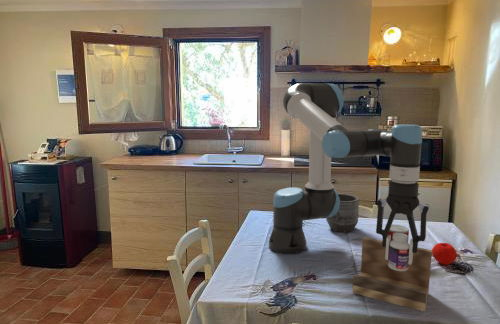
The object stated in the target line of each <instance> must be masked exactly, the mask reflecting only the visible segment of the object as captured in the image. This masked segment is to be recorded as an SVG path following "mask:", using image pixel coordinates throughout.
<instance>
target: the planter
mask: <svg viewBox="0 0 500 324" xmlns="http://www.w3.org/2000/svg"><path fill="white" fill-rule="evenodd" d="M338 194H339V195H338V197H339V198H340V205H339V209H338V211H337V213H336V214H335V215H334V216H332V217H327V218H325V220H326V223H327V225H328V226H329V228H330V229H331V230H332V231H335V232H338V233H350V231H351V232H352V231H353V230H354V229H355V228H356V226H357V224H358V223H359V211H360V210H359V208H360V198H359V197H358V196H357V195H354V194H350V193H338Z"/></svg>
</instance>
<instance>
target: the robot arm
mask: <svg viewBox="0 0 500 324" xmlns="http://www.w3.org/2000/svg"><path fill="white" fill-rule="evenodd" d="M282 105H283V107H284V110H285V112H286V113H287V114H288V115H289V116H290V117H291V118H293V119H298V120H299V121H300V122H301V123H302V124H303V125H304V126H305V127H307V129H309V154H308V155H309V157H308V158H309V159H308V168H309V169H308V182H307V183H305V184H304V189H302V188H300V187H295V186H294V187H286V188H281V189H279V190H276V192H275V193H274V194H273V202H272V206H273V207H272V208H273V214H272V216H273V221H272V223H273V224H272V225H273V226H272V231H271V233H270V236H269V238H268V248H269V247H270V248H269V249H270V250H272V251H273V252H275V253H279V254H287V255H290V254H298V253H299V254H300V253H302V252H304V251H305V250H306V249H307V239H306V235H305V233H304V230H303V223H304V222H303V221H309V220H318V219H319V220H320V219H326V218H327V217H332V216H334V215H335V214H336V213H337V211H338V209H339V205H340V198H339V197H338V195H339V194H340V193H339V192H338V191H337V189H335V186H334V185H333V183H332V181H331V173H332V172H331V170H332V168H331V167H332V158H336V159H337V158H338V159H341V158H342V159H343V158H351V157H369V156H370V157H371V156H383V157H388V158H390V161H389V179H390V180H389V181H388V193H387V197H386V198H378V199H377V201H376V206H377V216H376V217H377V219H376V226H375V227H376V229H375V233H376V234H378V235H380V236H382V240H381V241H382V246H383V247H386V254H385V259H386V260H388V258H389V244H390V242H391V235H388V233H389V230H390V228H391V225H393V222H394V219H395V217H396V215H400V214H401V215H404V216H406V218H407V223H408V225H409V226H408V227H409V230H410V231H409V232H410V233H411V234H410V235H411V238H410V240H409V245H410V246H409V261H408V264H410V265H411V264H412V259H413V253H416V252H417V250H418V247H419V242H425V241H426V237H427V218H428V217H427V216H428V215H427V214H428V212H429V209H430V205H429V204H424V203H422V202H420V200H419V183H418V181H419V180H420V171H421V169H420V168H421V156H422V153H421V152H422V144H423V128H422V127H421V126H420V125H419V124H410V123H409V124H406V123H405V124H403V123H401V124H398V123H396V124H394V125H392V127H391V130H388V129H381V128H371V129H367V130H363V129H362V130H361V129H360V130H350V129H348V128H346V127H345V126H343V124H341V123H340V122H339V121H338V120H337V114H339V113H341V111H342V109H343V107H344V95H343V93H342V90H341V89H340V88H339V86H338V85H337V84H334V83H329V82H323V83H322V82H321V83H319V82H317V83H316V82H315V83H314V82H312V83H311V82H309V83H308V82H300V83H296V84H294V85H292V86H290V87H289V88H288V89H287V90H286V92H285V93H284V94H283V98H282ZM386 203H387V204H386ZM386 205H388V206H389V208H390V209H391V211H390V213H389V217H388V219H387V222H386V224H385V227H384V229H383V225H384V224H383V223H384V213H385V207H386ZM417 207H418V208H419V212H420V230H419V231H420V232H419V234H418V231H417V225H416V221H415V218H414V217H415V216H414V210H415V209H417Z"/></svg>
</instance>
